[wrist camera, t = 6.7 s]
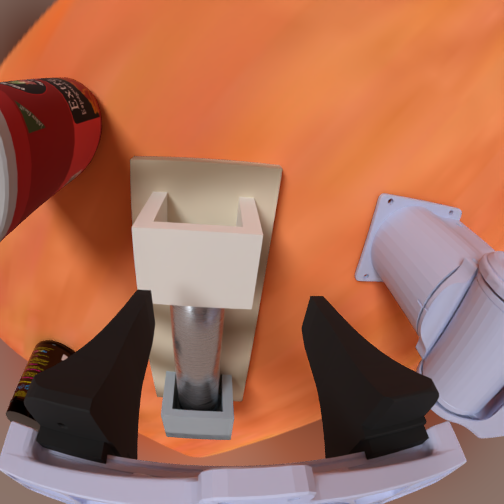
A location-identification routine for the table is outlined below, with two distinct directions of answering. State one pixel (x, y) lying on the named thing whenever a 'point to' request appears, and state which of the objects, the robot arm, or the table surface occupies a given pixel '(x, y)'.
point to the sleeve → (197, 257)
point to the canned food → (42, 142)
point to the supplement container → (40, 360)
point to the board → (210, 213)
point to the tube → (197, 355)
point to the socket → (197, 413)
